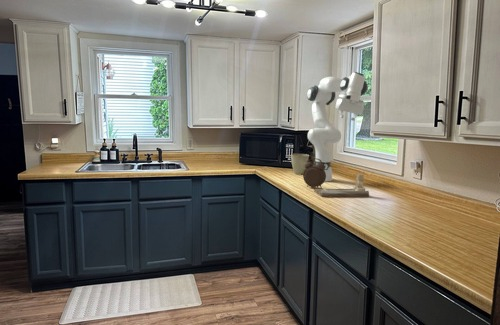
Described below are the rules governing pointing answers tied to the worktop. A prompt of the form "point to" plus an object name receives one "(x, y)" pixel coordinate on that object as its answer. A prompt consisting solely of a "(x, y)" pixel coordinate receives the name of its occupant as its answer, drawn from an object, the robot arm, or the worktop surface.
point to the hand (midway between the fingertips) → (346, 119)
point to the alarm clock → (314, 174)
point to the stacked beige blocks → (359, 183)
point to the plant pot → (299, 162)
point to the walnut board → (341, 193)
